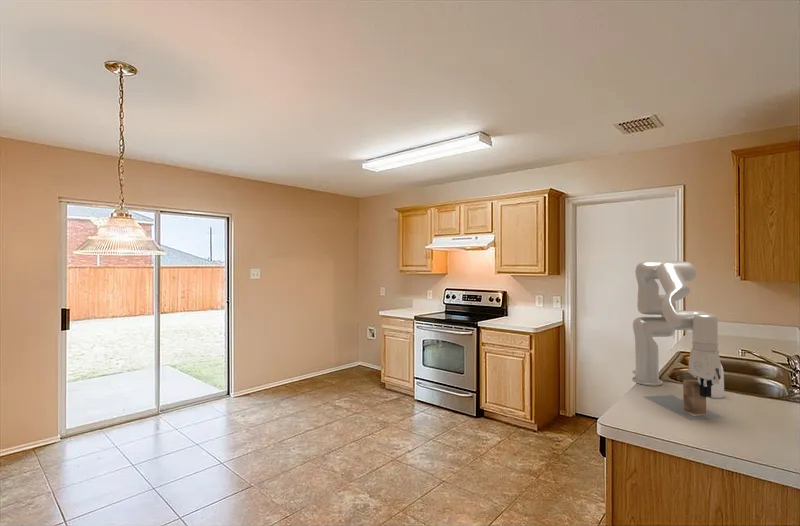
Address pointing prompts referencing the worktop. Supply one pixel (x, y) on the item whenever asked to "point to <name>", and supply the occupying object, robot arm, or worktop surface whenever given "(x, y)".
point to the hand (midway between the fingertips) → (705, 396)
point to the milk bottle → (718, 387)
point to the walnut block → (693, 398)
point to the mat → (679, 407)
